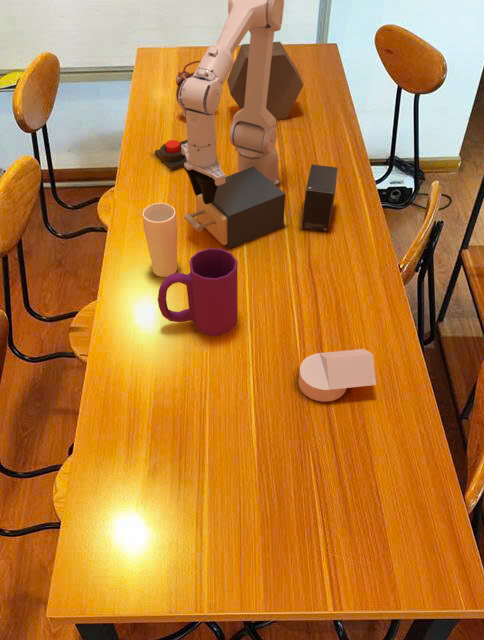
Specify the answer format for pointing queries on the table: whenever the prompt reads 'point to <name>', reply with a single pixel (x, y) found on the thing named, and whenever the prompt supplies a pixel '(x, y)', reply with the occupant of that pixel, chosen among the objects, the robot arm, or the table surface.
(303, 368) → the wedge on round base
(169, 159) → the control block
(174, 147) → the button
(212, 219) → the drawer
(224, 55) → the robot arm
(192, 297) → the mug
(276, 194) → the drawer cabinet
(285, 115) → the dark hexagonal block
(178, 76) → the alarm clock
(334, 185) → the small box
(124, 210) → the table surface
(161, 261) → the drinking glass
